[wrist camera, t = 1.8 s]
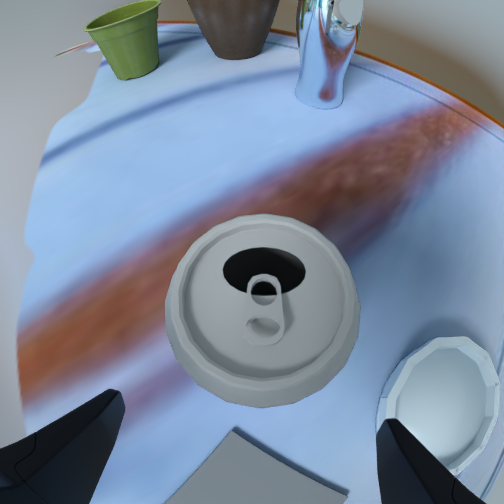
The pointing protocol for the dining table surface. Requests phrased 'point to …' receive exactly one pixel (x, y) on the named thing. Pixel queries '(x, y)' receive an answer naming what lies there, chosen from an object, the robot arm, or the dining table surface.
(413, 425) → the dish
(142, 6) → the plant pot
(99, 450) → the robot arm
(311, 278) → the can
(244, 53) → the plant pot
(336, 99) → the beer glass
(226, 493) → the mat
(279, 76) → the dining table surface
